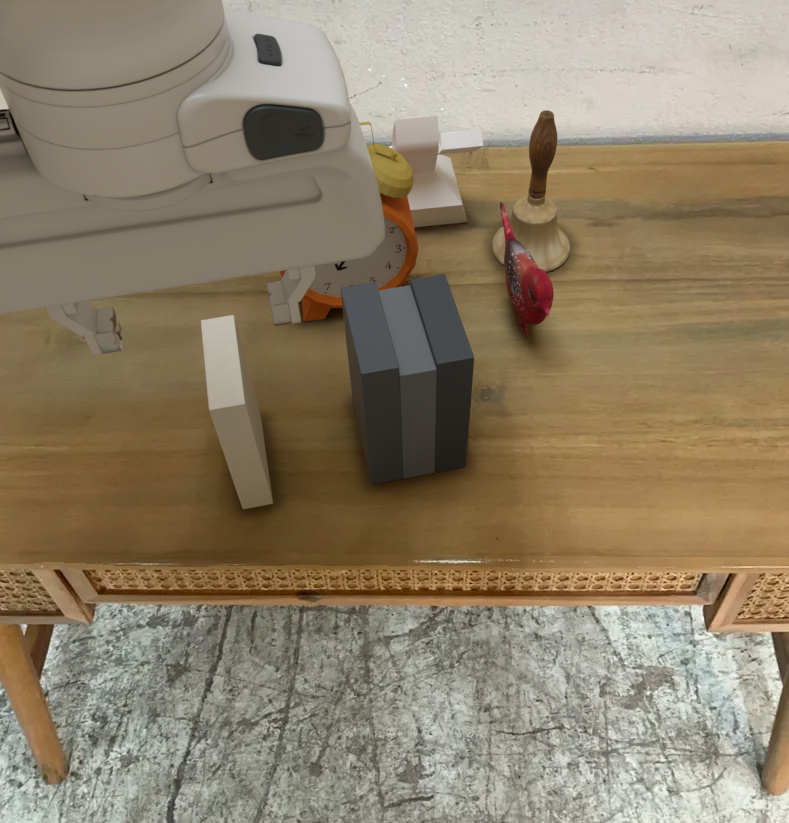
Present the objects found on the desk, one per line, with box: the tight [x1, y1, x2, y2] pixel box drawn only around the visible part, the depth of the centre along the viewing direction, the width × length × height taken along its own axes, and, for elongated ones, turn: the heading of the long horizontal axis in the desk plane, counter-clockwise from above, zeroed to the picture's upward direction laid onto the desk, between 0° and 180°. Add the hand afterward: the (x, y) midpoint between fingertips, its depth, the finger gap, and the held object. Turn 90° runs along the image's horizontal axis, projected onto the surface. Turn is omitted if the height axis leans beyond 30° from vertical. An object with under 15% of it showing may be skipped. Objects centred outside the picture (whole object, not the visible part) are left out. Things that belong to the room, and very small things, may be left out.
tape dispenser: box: [388, 115, 484, 228], centre depth 88 cm, size 8×14×14 cm, turn 97°
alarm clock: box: [279, 121, 419, 322], centre depth 77 cm, size 13×6×20 cm, turn 97°
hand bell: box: [491, 109, 571, 273], centre depth 83 cm, size 8×8×16 cm
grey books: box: [341, 273, 475, 485], centre depth 69 cm, size 8×9×15 cm
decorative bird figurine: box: [499, 201, 554, 340], centre depth 80 cm, size 3×18×10 cm, turn 9°
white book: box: [200, 314, 274, 510], centre depth 68 cm, size 3×9×14 cm, turn 12°
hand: (198, 330), depth 44 cm, fingers open, 8 cm apart
